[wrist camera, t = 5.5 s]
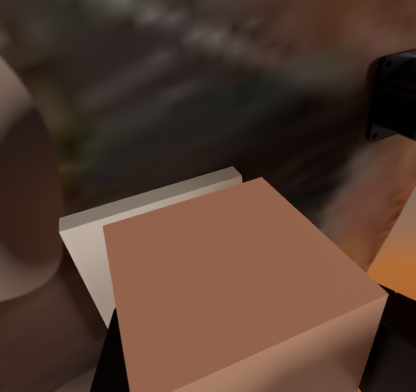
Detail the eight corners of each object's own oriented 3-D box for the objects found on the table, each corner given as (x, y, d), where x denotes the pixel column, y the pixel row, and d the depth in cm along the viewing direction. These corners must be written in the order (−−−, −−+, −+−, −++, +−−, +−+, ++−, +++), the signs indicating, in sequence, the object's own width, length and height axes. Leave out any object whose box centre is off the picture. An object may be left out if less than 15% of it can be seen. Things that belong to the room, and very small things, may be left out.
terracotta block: (261, 177, 10) (388, 294, 6) (263, 282, 13) (351, 409, 9) (102, 226, 9) (132, 409, 5) (142, 330, 12) (182, 500, 8)
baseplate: (232, 166, 23) (241, 175, 22) (242, 278, 30) (249, 290, 29) (59, 218, 20) (58, 232, 19) (113, 329, 27) (115, 344, 26)
